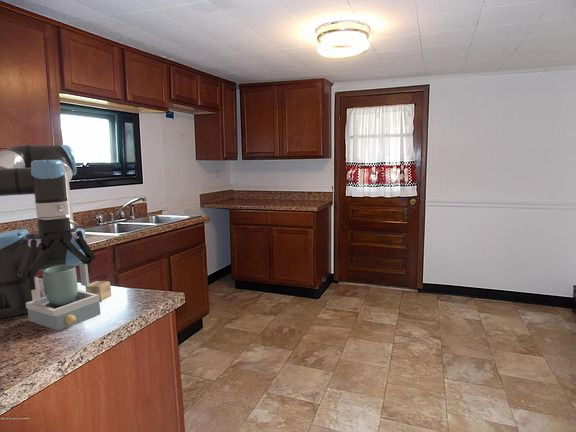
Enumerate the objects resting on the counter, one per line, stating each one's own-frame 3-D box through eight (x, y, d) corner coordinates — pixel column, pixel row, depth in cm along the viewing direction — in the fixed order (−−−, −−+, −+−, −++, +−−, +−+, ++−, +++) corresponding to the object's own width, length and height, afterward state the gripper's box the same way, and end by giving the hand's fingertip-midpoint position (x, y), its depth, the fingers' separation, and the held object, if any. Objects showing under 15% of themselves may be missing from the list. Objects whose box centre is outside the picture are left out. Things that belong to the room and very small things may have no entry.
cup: (64, 309, 103) (60, 273, 102) (40, 307, 105) (35, 272, 103) (85, 298, 111) (81, 265, 109) (61, 297, 112) (57, 264, 111)
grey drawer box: (27, 321, 106) (24, 302, 105) (72, 305, 117) (70, 288, 117) (59, 332, 99) (56, 312, 98) (104, 314, 110) (102, 295, 109)
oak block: (87, 301, 121) (85, 286, 120) (97, 295, 126) (95, 281, 125) (101, 302, 120) (100, 286, 119) (111, 296, 125) (109, 281, 124)
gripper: (9, 225, 92) (21, 310, 95) (103, 211, 113) (110, 281, 116) (-7, 223, 95) (5, 305, 99) (88, 210, 117) (95, 278, 120)
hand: (62, 292), depth 107 cm, fingers open, 13 cm apart
